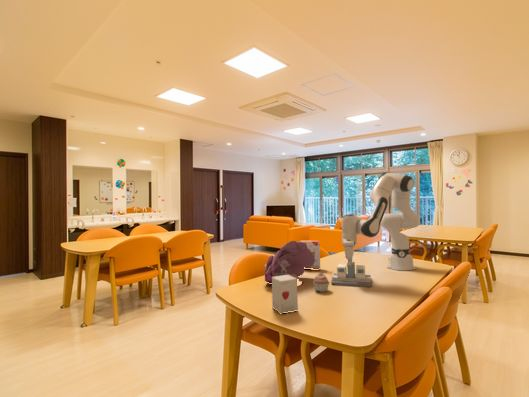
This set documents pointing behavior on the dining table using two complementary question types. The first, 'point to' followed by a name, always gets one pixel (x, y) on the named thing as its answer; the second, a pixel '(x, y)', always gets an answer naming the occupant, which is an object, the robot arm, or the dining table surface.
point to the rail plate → (343, 279)
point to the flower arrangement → (289, 261)
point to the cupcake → (321, 283)
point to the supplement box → (284, 293)
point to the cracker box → (313, 252)
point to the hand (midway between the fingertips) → (350, 263)
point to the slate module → (351, 270)
